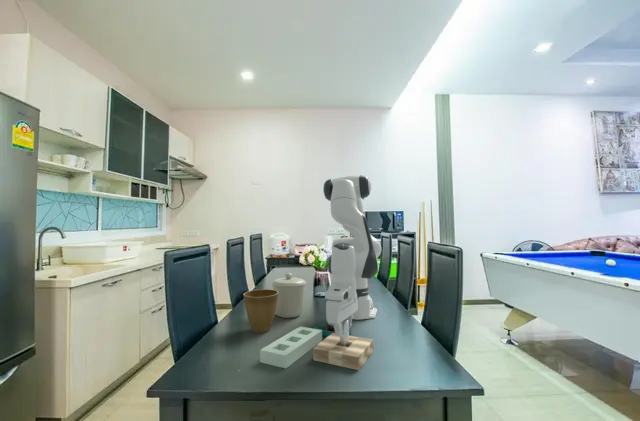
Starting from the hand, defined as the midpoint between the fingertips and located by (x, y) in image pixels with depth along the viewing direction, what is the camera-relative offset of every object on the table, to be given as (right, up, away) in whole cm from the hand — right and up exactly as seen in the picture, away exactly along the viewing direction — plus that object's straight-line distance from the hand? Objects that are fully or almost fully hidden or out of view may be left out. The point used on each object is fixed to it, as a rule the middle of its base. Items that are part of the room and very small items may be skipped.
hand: (343, 330), depth 105 cm
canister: (-24, -11, +48) cm, 54 cm away
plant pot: (-34, -10, +26) cm, 44 cm away
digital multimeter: (-3, -10, +20) cm, 23 cm away
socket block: (0, -9, 0) cm, 9 cm away
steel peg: (0, -9, 0) cm, 9 cm away
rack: (-18, -9, +4) cm, 20 cm away
